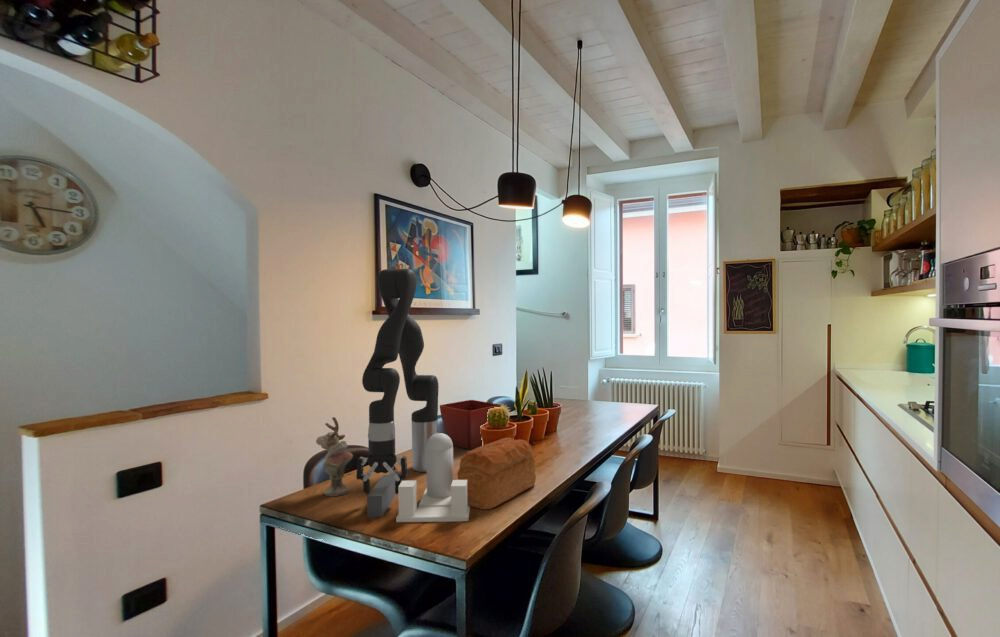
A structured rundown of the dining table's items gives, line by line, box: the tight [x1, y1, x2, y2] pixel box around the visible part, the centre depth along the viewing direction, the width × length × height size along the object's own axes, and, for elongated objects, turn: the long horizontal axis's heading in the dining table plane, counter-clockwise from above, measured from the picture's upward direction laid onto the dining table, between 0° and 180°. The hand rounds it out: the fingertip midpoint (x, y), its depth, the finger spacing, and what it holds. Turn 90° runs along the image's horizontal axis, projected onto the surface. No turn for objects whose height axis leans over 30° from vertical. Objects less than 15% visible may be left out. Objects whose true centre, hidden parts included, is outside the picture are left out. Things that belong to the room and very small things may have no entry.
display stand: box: [395, 432, 471, 523], centre depth 142 cm, size 22×19×19 cm
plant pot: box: [439, 399, 502, 450], centre depth 209 cm, size 19×19×17 cm
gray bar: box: [366, 474, 397, 518], centre depth 143 cm, size 18×4×6 cm, turn 179°
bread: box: [457, 437, 537, 510], centre depth 151 cm, size 14×27×15 cm, turn 145°
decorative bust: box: [315, 416, 354, 497], centre depth 154 cm, size 11×13×25 cm
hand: (382, 493), depth 143 cm, fingers open, 8 cm apart
